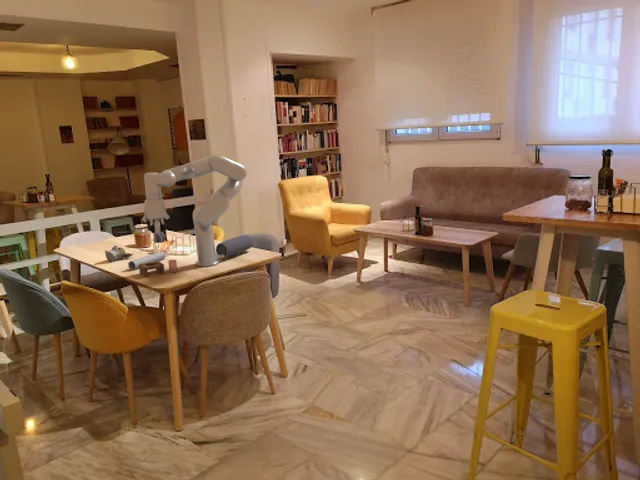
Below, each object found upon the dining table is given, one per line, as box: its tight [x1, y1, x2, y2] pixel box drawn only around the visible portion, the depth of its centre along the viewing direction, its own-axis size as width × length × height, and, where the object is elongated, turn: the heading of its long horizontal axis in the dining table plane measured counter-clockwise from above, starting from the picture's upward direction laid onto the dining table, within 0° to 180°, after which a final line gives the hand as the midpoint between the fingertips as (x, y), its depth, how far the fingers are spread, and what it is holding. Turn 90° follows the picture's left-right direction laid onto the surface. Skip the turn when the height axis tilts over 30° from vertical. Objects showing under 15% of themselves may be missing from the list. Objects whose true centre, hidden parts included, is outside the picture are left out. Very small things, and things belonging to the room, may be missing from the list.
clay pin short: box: [167, 259, 178, 274], centre depth 263 cm, size 4×4×6 cm
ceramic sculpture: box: [104, 245, 134, 263], centre depth 294 cm, size 11×9×15 cm
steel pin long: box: [152, 219, 163, 244], centre depth 262 cm, size 4×4×12 cm
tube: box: [127, 250, 167, 271], centre depth 281 cm, size 5×5×25 cm
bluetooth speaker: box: [215, 234, 254, 259], centre depth 289 cm, size 23×9×10 cm, turn 149°
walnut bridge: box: [138, 260, 166, 278], centre depth 262 cm, size 10×10×5 cm
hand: (157, 231), depth 263 cm, fingers closed on steel pin long, 4 cm apart
